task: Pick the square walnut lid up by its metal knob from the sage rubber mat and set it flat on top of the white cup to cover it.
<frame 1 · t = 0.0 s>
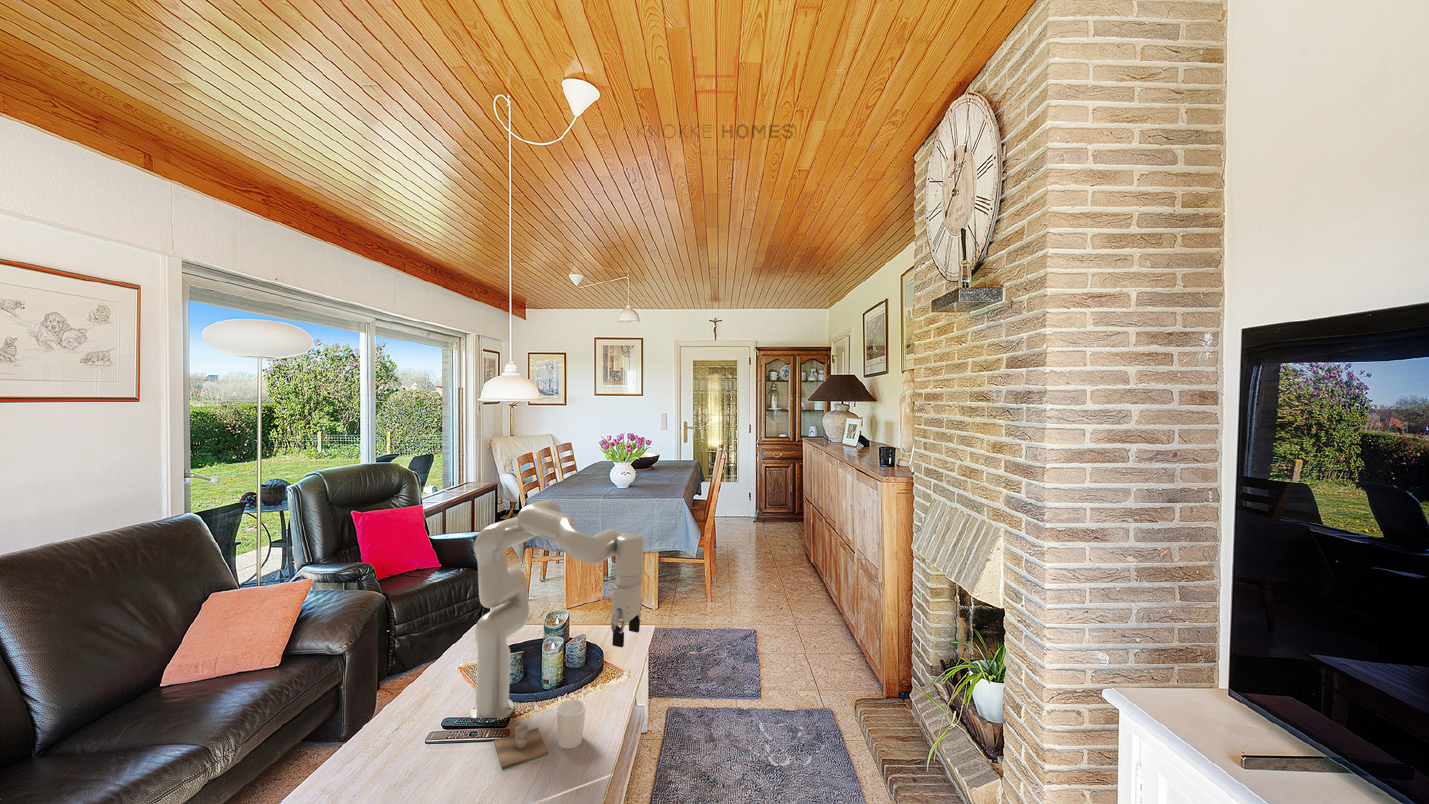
hand: (626, 638, 147), 31 cm above the table, tool pointing down, fingers open, 9 cm apart
sage mat: (520, 750, 145), on the table
white cup: (570, 742, 149), on the table
walnut lid: (520, 748, 145), resting on sage mat
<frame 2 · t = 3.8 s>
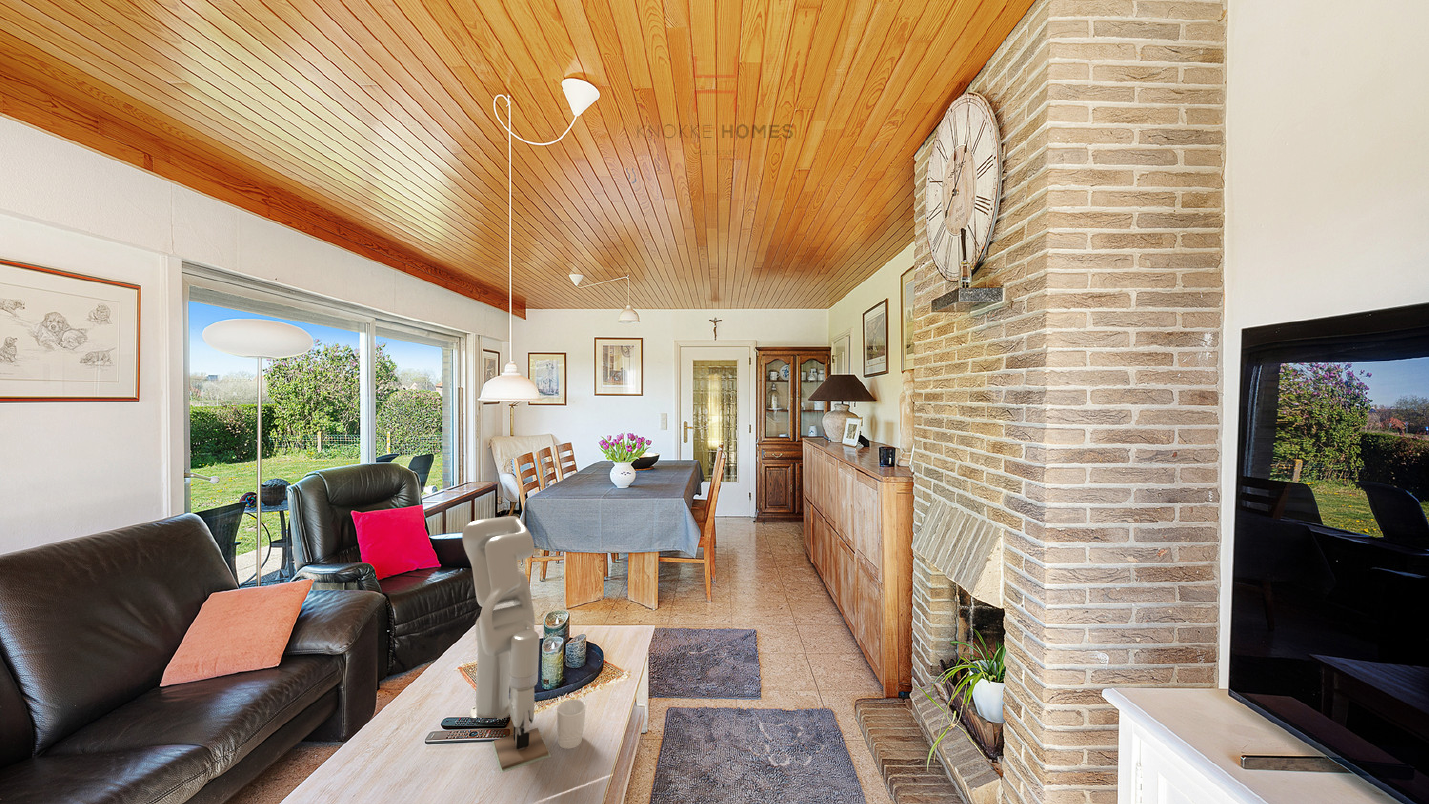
hand: (521, 742, 145), 2 cm above the table, tool pointing down, fingers closed on walnut lid, 3 cm apart
walnut lid: (520, 748, 145), resting on sage mat, touching gripper
everything else where it was.
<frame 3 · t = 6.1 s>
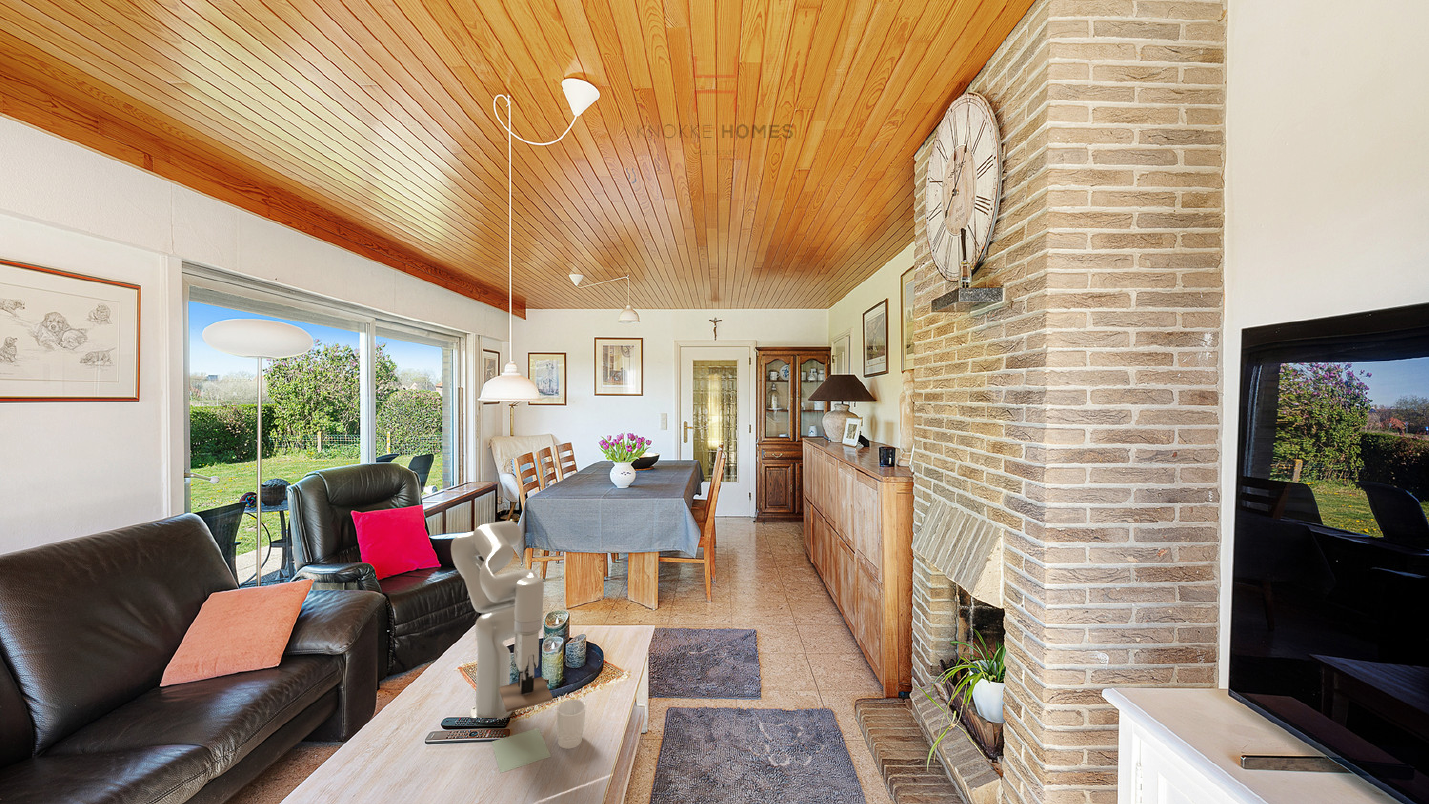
hand: (525, 688, 145), 17 cm above the table, tool pointing down, fingers closed on walnut lid, 3 cm apart
walnut lid: (525, 694, 145), point 15 cm above the table, touching gripper
everything else where it was.
when the fingers open (14 cm above the table, at t = 8.4 s): walnut lid drops 2 cm, resting on white cup.
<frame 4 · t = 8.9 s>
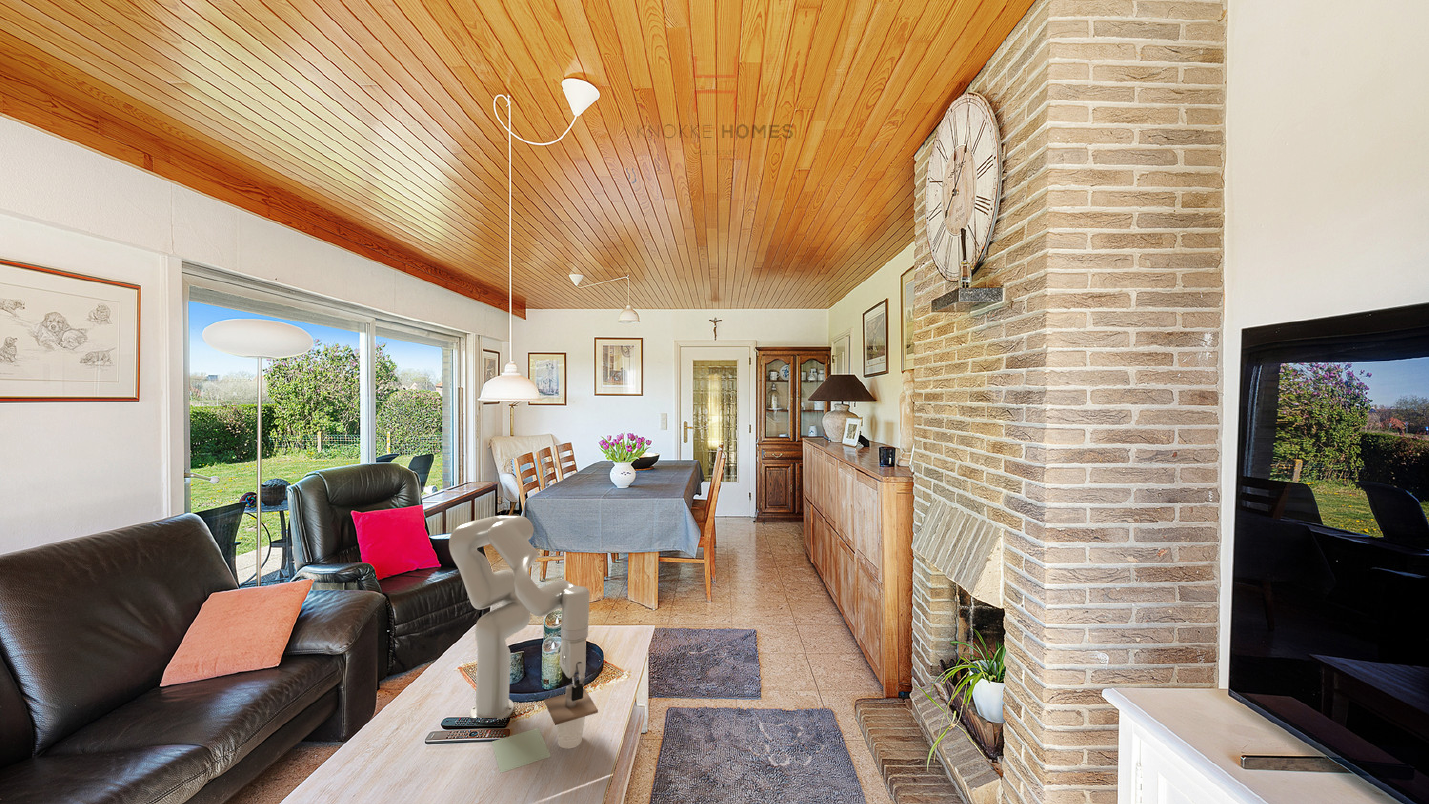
hand: (572, 691, 149), 15 cm above the table, tool pointing down, fingers open, 8 cm apart
white cup: (570, 742, 149), on the table, touching walnut lid
walnut lid: (570, 707, 149), point 10 cm above the table, touching white cup
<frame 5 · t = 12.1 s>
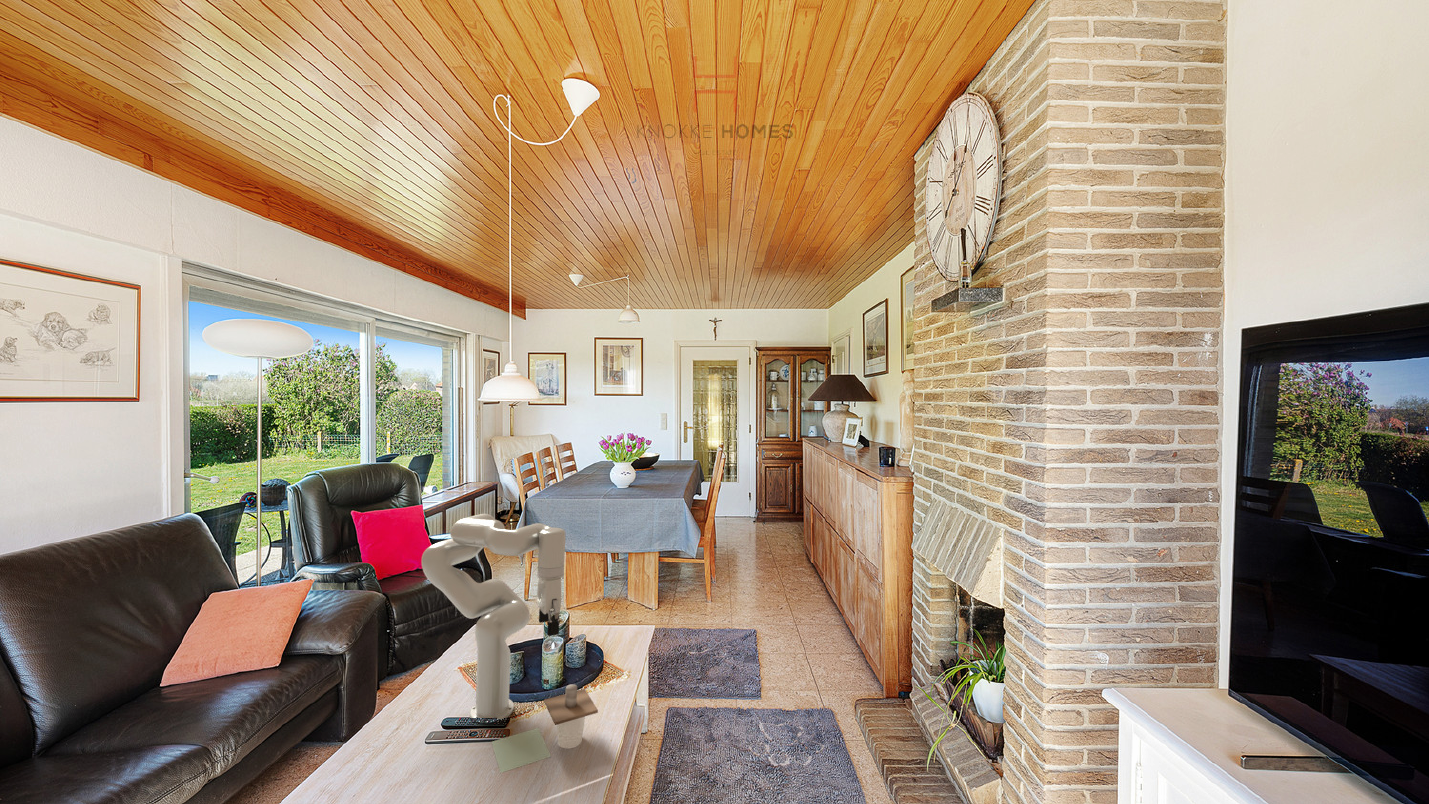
hand: (548, 628, 154), 30 cm above the table, tool pointing down, fingers open, 9 cm apart
nothing on the table moved.
at the end: walnut lid 0.3 cm from the white cup (horizontally); walnut lid point 10.0 cm above the table; walnut lid tilted 0° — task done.
